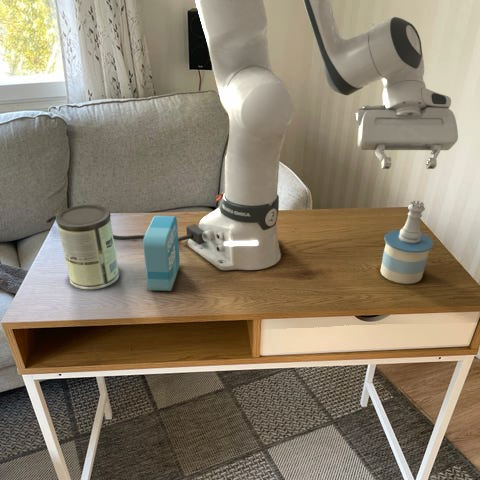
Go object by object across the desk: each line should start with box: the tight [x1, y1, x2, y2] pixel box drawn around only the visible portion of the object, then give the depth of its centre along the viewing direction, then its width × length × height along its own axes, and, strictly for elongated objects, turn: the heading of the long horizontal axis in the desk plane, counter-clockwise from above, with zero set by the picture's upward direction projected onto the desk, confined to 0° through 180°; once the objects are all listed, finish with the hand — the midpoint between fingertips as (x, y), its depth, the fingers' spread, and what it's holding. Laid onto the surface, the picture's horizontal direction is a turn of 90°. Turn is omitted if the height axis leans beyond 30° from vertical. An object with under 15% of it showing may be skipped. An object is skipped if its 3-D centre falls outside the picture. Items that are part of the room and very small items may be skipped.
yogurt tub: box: [380, 229, 434, 285], centre depth 106 cm, size 10×10×8 cm
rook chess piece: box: [398, 200, 426, 244], centre depth 102 cm, size 4×4×8 cm
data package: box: [142, 215, 181, 292], centre depth 102 cm, size 12×4×12 cm, turn 176°
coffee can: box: [55, 204, 120, 291], centre depth 101 cm, size 10×10×14 cm
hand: (409, 167), depth 103 cm, fingers open, 8 cm apart
